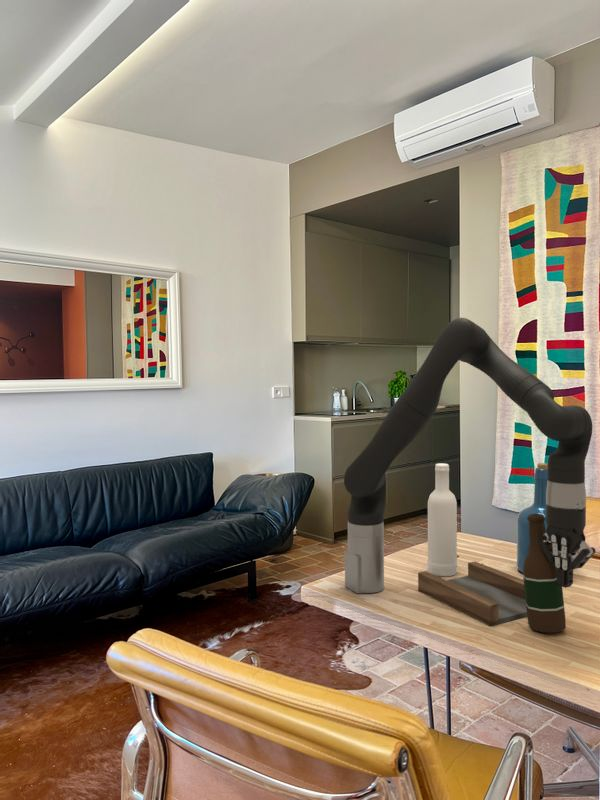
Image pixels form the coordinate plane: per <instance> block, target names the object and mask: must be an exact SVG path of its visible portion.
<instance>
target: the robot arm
mask: <svg viewBox="0 0 600 800" xmlns="http://www.w3.org/2000/svg"><path fill="white" fill-rule="evenodd" d="M458 362H462V363H467V364H468V365H469V366H472V367H473V368H476V369H477V370H479V371H481V372H483V373H484V374H485V375H487V376H488V377H489V378H490V379H491V380H492V381H493V382H494V383H495V384H496V385H497V386H498V388H499V389H500V390H501V391H502V392H503V393H504V394H505V395H506V396H507V397H508V398H509V399H510V400H511V401H513V402H514V403H515V404H516V405H517V406H518V407H519V408H521V410H523V411H525V412H526V413H527V415H528V416H529V418H530V419H531V421H532V422H533V424H534V425H535V426H536V428H537V429H538V430H539V431H540V433H542V435H544V436H545V437H547V438H548V439H550V440H552V441H555V442H558V443H557V448H556V450H555V451H553V452H552V453H550V455H549V456H548V458H547V465H548V481H547V489H546V523H547V525H548V527H547V529H546V533H545V534H543V535H540V536H538V541H539V543H540V545H541V547H542V549H543V551H544V553H545V554H546V556H547V558H548V560H549V562H553V563H554V564H555V566H556V567H557V582H558V585H559V586H562V588H564V589H567V588H570V587H572V586H573V583H574V570H577V569H582V568H583V567H584V566H585V565H586V564H587V562H588V561H589V560H590V559H591V558H592V557H593V555H594V554H596V551H597V550H596V549H595V547H590V546H589V545H588V543H587V542H586V535H585V532H584V530H585V527H586V525H587V522H586V521H587V520H586V519H587V517H586V515H587V513H586V512H587V492H586V491H587V490H586V481H585V479H586V466H585V465H586V464H585V463H586V462H585V461H586V459H587V455H588V452H589V448H590V445H591V440H592V436H593V421H592V417H591V415H590V413H589V411H588V410H587V409H586V408H584V407H583V406H580V405H561V404H559V403H557V402H556V401H555V394H554V391H553V390H552V388H551V387H549V386H548V385H547V384H546V383H545V382H544V381H542V380H541V379H540V378H538V377H537V376H536V375H534V374H533V373H532V372H530V371H529V370H528V369H527V368H524V367H523V366H522V365H521V364H519V363H518V362H515V361H514V360H513V359H512V358H511V357H509V356H508V355H507V354H506V353H505V352H504V351H503V350H502V349H501V348H500V347H499V346H498V344H496V342H495V341H494V340H493V339H492V337H490V336H489V334H488V333H487V331H486V330H485V329H484V328H482V327H481V326H479V324H476V323H475V322H474V321H472V320H470V319H468V318H467V317H458V318H454V319H453V320H451V321H450V322H449V323H447V324H446V326H444V328H443V329H442V330H441V332H440V334H439V336H438V337H437V339H436V341H435V343H433V347H432V348H431V349H430V351H429V353H428V355H427V356H426V359H425V360H424V361H423V363H422V364H421V366H420V368H419V369H418V370H417V372H416V373H415V374H414V376H413V378H412V379H411V381H410V382H409V384H408V385H407V386H406V388H404V390H403V392H402V393H401V394H400V395H399V397H398V398H397V400H396V401H395V402H394V404H393V405H392V407H391V408H390V410H389V411H388V413H387V415H386V416H385V417H384V419H383V420H382V422H381V424H380V425H379V427H378V429H377V430H376V432H375V434H374V435H373V437H372V439H371V441H370V442H369V443H368V444H367V445H366V447H365V448H364V449H363V450H362V451H361V452H360V454H359V455H358V456H357V457H356V458H355V459H354V460H353V461H352V462H351V463H350V465H348V466H347V468H346V470H345V472H344V475H343V485H344V487H345V488H344V489H345V490H346V491H347V493H349V494H350V495H351V497H350V498H351V499H350V504H349V508H348V510H347V549H345V550H344V587H345V588H348V589H349V590H351V591H352V592H354V593H356V594H374V593H379V592H381V591H383V590H384V589H385V539H384V537H385V536H384V535H385V534H384V533H385V530H384V528H385V523H384V519H385V518H384V515H385V513H386V511H385V510H386V506H387V505H386V502H387V498H386V497H387V477H386V476H387V475H386V472H387V471H388V470H389V468H390V466H391V464H392V463H393V462H394V460H395V459H396V458H397V457H398V456H399V455H400V453H402V452H403V451H404V450H405V449H406V448H408V446H409V445H410V444H412V442H413V441H414V440H415V439H416V438H417V436H419V435H420V433H421V432H422V431H423V429H424V428H425V427H426V426H427V425H428V422H429V421H430V420H431V419H432V417H433V416H434V415H435V413H436V411H437V409H438V406H439V403H440V398H441V394H442V390H443V387H444V384H445V380H446V379H447V377H448V376H449V374H450V372H451V370H453V368H454V366H455V365H456V364H457V363H458ZM551 552H552V553H551ZM552 554H553V555H552ZM561 558H562V559H561Z"/></svg>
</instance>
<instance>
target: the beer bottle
mask: <svg viewBox="0 0 600 800" xmlns="http://www.w3.org/2000/svg"><path fill="white" fill-rule="evenodd" d="M527 520H528V521H529V541H530V546H529V553H528V554H527V556H526V558H525V560H524V564H523V573H522V575H523V576H522V577H523V580H524V589H525V599H526V609H527V616H526V617H527V623H528V625H529V627H530V629H531V630H532V631H536V632H540V633H559V632H561V631H563V630H565V629H566V627H567V625H566V623H567V622H566V610H565V603H564V602H565V601H564V594H563V593H564V592H563V591H564V590H563V587H562V586H559V585H558V582H557V567H556V566H555V564H554V563H553V562H549V560H548V558H547V556H546V554H545V553H544V551H543V549H542V547H541V545H540V543H539V541H538V536H540V535H543V534H545V533H546V530H545V524H544V521H545V520H546V519H545V517H544V515H542V514H530V515H528V517H527Z"/></svg>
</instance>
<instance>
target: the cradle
mask: <svg viewBox="0 0 600 800" xmlns="http://www.w3.org/2000/svg"><path fill="white" fill-rule="evenodd" d="M417 579H418V580H417V586H418V588H417V590H418V592H421V593H423V594H425V595H427V596H429V597H430V598H433V599H434V600H438V601H439V602H441V603H443V604H445V605H447V606H449V607H450V608H452V609H455V610H457V611H459V612H461V613H464V614H465V615H467V616H469V617H472V618H474V619H475V620H477V621H479V622H481V623H484V624H485V625H487V626H489V627H491V626H495V625H500V624H502V623H506V622H511V621H514V620H515V621H516V620H518V619H521V618H526V617H527V609H526V599H525V589H524V578H523V579H522V578H519V577H517V576H515V575H511V574H510V573H506V572H504V571H502V570H498V569H496V568H494V567H492V566H488V565H486V564H484V563H480V562H478V561H469V562H467V575H465V576H461V577H457V578H456V577H455V578H450V579H445V578H442V577H441V576H436V575H434V574H431V573H429V572H428V570H427V571H426V570H425V571H420V572H418V573H417Z"/></svg>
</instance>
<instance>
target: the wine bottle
mask: <svg viewBox="0 0 600 800" xmlns="http://www.w3.org/2000/svg"><path fill="white" fill-rule="evenodd" d="M533 481H534V491H533V502H532V505H530V506H528V507H525V508H523V509H521V511H520V512H519V513H518V514H517V517H516V518H517V519H516V566H517V569H518V571H519V572H521V573H522V574H523V564H524V560H525V558H526V556H527V554H528V553H529V546H530V541H529V521H528V520H527V517H528V515H530V514H542V515H544V517H545V519H546V489H547V481H548V463H545V462H538V463H537V467H535V469H534V477H533ZM544 524H545V530H546V529H547V527H548V525H547V523H546V520H545V521H544ZM551 553H552V552H551ZM552 555H553V554H552ZM561 559H562V558H561Z"/></svg>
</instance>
